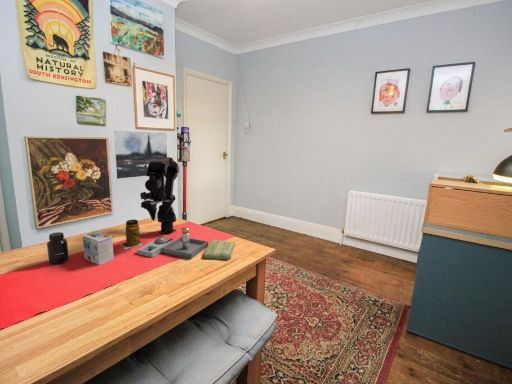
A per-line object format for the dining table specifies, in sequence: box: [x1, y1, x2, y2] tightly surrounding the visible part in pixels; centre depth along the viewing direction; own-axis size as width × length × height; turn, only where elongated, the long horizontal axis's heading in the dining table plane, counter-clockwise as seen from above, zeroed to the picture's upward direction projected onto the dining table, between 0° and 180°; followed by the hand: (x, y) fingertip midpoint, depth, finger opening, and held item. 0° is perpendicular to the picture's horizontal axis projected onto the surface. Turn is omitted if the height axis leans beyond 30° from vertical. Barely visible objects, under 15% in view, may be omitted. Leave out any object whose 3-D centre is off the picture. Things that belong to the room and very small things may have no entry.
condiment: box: [119, 219, 144, 250], centre depth 129 cm, size 7×8×12 cm
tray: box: [161, 235, 209, 260], centre depth 127 cm, size 15×15×2 cm
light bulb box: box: [82, 230, 115, 266], centre depth 114 cm, size 11×7×11 cm, turn 62°
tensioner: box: [136, 235, 174, 258], centre depth 127 cm, size 16×9×3 cm, turn 161°
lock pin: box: [181, 226, 191, 250], centre depth 126 cm, size 3×3×10 cm
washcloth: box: [203, 239, 236, 261], centre depth 127 cm, size 13×18×3 cm
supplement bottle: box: [46, 231, 70, 265], centre depth 110 cm, size 7×7×12 cm
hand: (159, 217), depth 133 cm, fingers open, 9 cm apart
